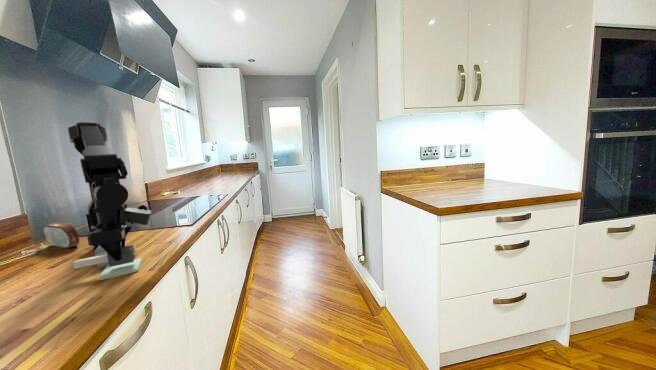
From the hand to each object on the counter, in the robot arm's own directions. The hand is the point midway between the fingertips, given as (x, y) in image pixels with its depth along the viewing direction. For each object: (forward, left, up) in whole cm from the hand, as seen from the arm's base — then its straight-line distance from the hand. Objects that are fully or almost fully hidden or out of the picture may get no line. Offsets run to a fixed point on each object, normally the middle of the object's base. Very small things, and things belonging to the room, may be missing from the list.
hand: (120, 257), depth 69 cm
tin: (+22, -35, -4) cm, 42 cm away
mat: (0, 0, -3) cm, 3 cm away
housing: (+4, -10, -3) cm, 11 cm away
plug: (+3, 0, -1) cm, 3 cm away
